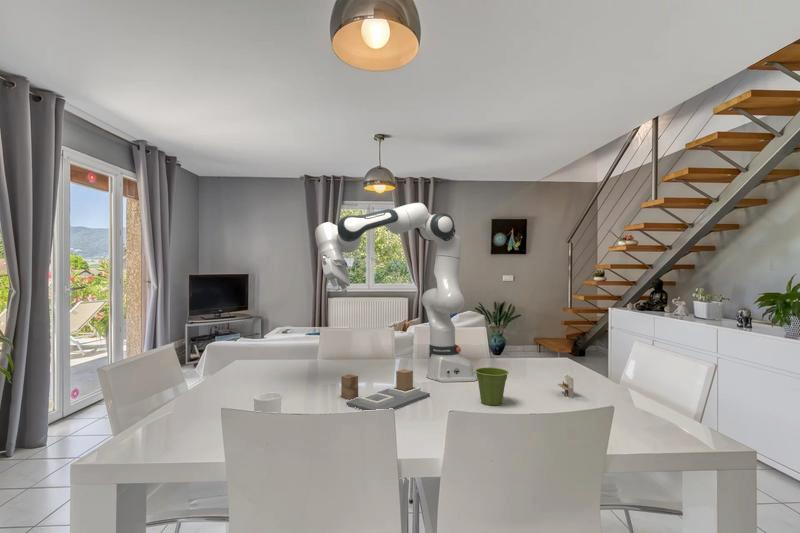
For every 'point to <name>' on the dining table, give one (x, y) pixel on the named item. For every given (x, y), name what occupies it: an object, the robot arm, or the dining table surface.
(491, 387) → the plant pot
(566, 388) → the architectural model
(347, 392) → the walnut block
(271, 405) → the white cup
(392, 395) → the baseplate
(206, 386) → the dining table surface
